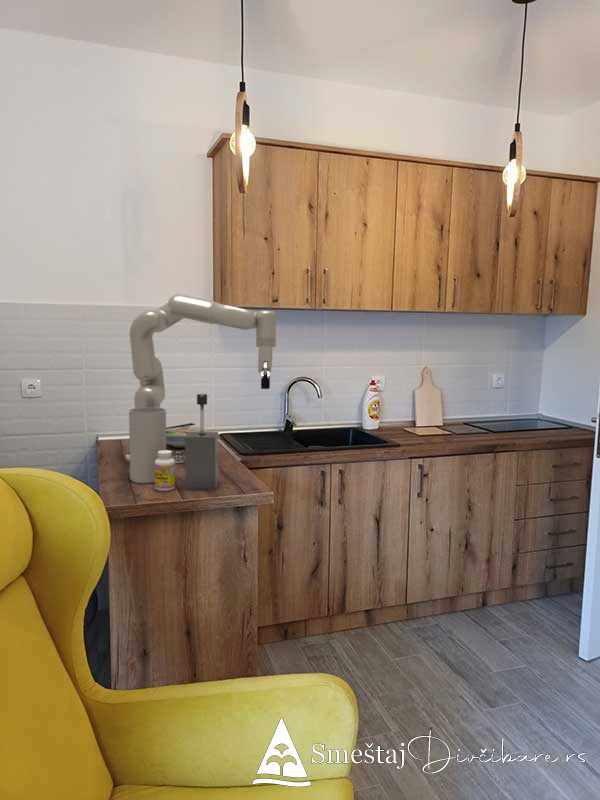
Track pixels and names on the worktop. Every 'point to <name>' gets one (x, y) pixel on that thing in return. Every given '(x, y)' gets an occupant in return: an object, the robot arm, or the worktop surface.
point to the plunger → (201, 410)
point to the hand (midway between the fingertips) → (265, 387)
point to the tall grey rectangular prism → (201, 461)
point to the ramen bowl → (179, 434)
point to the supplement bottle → (164, 471)
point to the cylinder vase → (146, 442)
